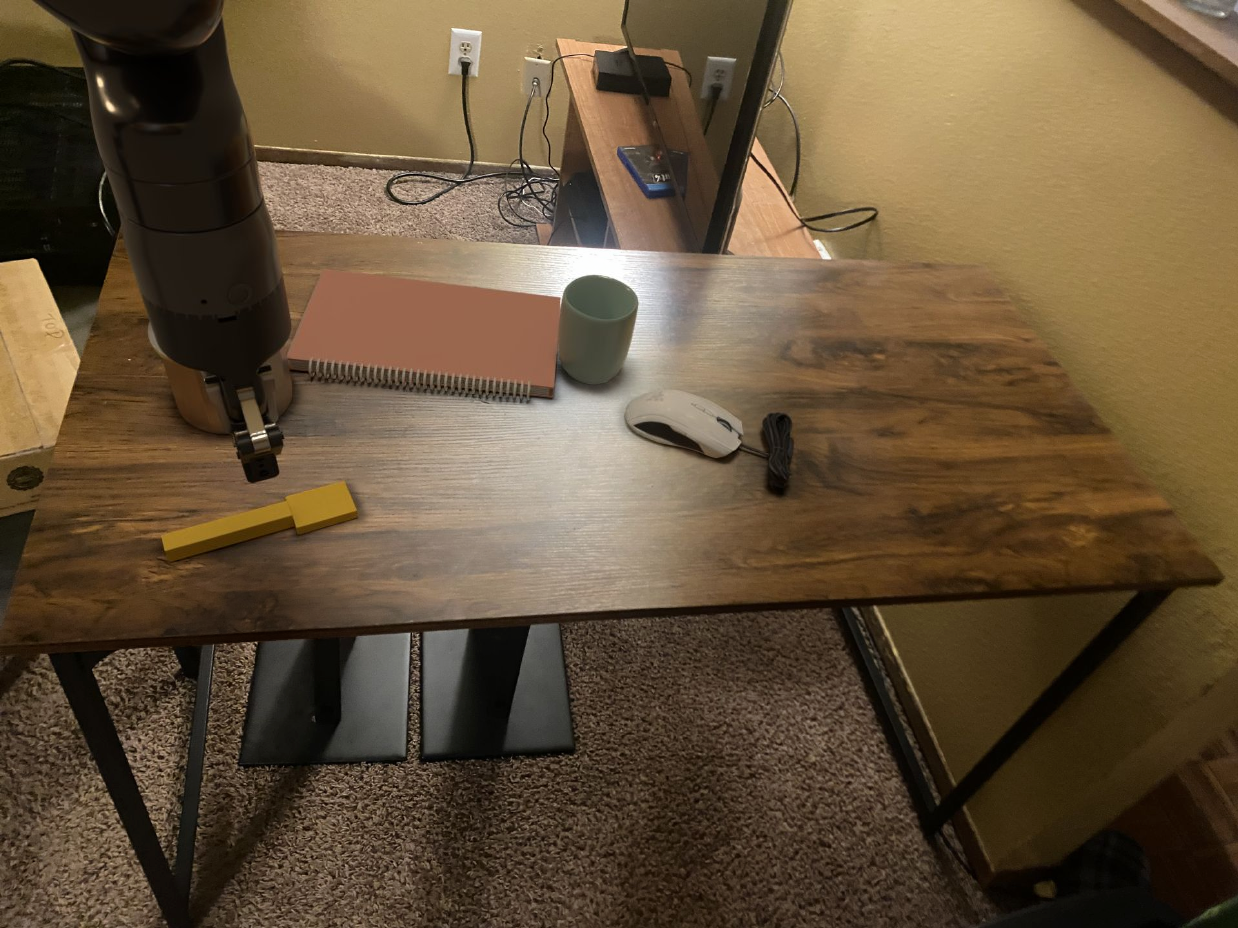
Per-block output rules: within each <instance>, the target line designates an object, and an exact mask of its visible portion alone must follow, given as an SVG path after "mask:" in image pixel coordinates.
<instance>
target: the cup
mask: <svg viewBox="0 0 1238 928" xmlns="http://www.w3.org/2000/svg"><path fill="white" fill-rule="evenodd" d="M638 311H639V298H638V296H637V294H636V293H635V291H634V290H633V288H632V287H630V286H629V285H627V284H626V283H625V282H622V281H621V280H618V279H616V278H613V277H610V276H606V275H603V274H602V275H601V274H587V275H582V276H580V277H577V278H575V279H573V280H571V281H570V282H569V283H568V284H567V285H566V287H565V288H564V290H563V292H562V297H561V300H560V314H559V327H558V340H557V353H558V360H559V363H560V365H561V367H562V368H563V371H564V372H565V373H566V374H567V375H569V376H570V377H571V378H573V379H574V380H576V381H578V382H580V383H583V384H588V385H601V384H604V383H606V382H609V381H610V380H612V379H613V378H614V377H616V376H617V374H618V373H619V372H620V371H621V369H622V367H623V366H624V364H625V362H626V359H627V358H628V354H629V351H630V348H631V345H632V340H633V337H634V331H635V326H636V322H637V317H638Z"/></svg>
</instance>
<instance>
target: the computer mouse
mask: <svg viewBox="0 0 1238 928" xmlns="http://www.w3.org/2000/svg"><path fill="white" fill-rule="evenodd" d="M624 417H625V420H626V422H627V425H629V428H630V429H631V430H633V431H634V433H636V434H638V435H640V436H642V437H643V438H645V439H648V440H651V441H654V442H656V443H659V444H663V445H670V446H675V447H679V448H684V449H688V450H692V451H694V452H697V453H701V454H703V455H706V456H707V457H711V458H715V459H718V458H722V457H726V456H729V454H731V453H732V452H734V451H736V450H737V449H738V448H740V447H742V448H744V449H746V450H749V451H752V452H753V453H754V452H755V453H758V454H760V455H764V456H766V457H768V461H767V470H768V480H769V485H770V488H772V489H773V490H774V489H776V488H780V489H785V488H786V487H787V486H788V482H789V478H790V476H792V475H793V471H792V469H791V468H790V464H791V462H790V461H791V459H792V457H793V455H794V451H795V449H794V446H795V441H794V438H793V433H792V432H791V431H792V429H793V425H794V424H793V420H792V418H791V416H789V414H787V413H785V412H780V411H779V412H769V413H767V415H766V416H765V417H764V418H763V419H762V422H761V423H762V430H763V433H764V436H765V439H766V441H767V443H768V446H769V449H770V451H769V453H768V452H765V451H763V450H761V449H757V448H755V447H752V446H749V445H746V444H743V443H742V440H740V439H739V438H740V437H741V436H742V437H743V436H745V434H744V427H743V421H742V420H740V419H739V418H737V417H736V416H734V415H733V414H731V413H730V412H729V411H727V410H726V409H724V408H723V407H721V406H719V404H716V403H715V402H713V401H711V400H709V399H707V398H705V397H702V396H699V395H696V394H694V393H691V392H688V391H683V390H679V389H674V388H673V389H672V388H665V389H663V388H662V389H656V390H651V391H649V392H646V393H644V394H642V395H640V396H638V397H636V398H633V399H632V400H630V402H629V403H628V404H627V405H626V408H625V410H624Z"/></svg>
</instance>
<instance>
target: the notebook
mask: <svg viewBox="0 0 1238 928" xmlns="http://www.w3.org/2000/svg"><path fill="white" fill-rule="evenodd" d="M561 301H562V297H560V296H553V295H545V294H535V293H528V292H521V291H512V290H503V289H496V288H488V287H478V286H471V285H462V284H452V283H446V282H439V281H430V280H422V279H414V278H413V279H412V278H404V277H398V276H390V275H381V274H371V273H364V272H357V271H356V272H355V271H347V270H339V269H332V268H322V269H321V272H320V274H319V277H318V278H317V281H316V283H315V286H314V289H313V290H312V293H311V295H310V298H309V300H308V303H307V305H306V308H305V310H304V313H303V315H302V317H301V319H300V322H299V325H298V327H297V329H296V332H295V334H294V336H293V338H292V341H291V344H290V345H289V348H288V350H287V352H286V354H287V359H288V365H289V370H292V371H302V372H308V374H309V377H314V376H315V375H316V377H317V378H321V377H322V376H323V377H324V378H325V379H329V377H330V378H331V379H332V380H335V379H336V378H338V380H341V381H342V380H343V379H345V381H350V380H351V377H352V381H353V382H357V381H358V379H359V382H361V383H364V382H365V380H366V382H367V384H368V383H372V380H373V383H374V384H378V383H379V381H380V383H381V385H385V384H386V381H387V384H388V385H389V386H392V385H393V382H394V385H395V386H396V387H399V386H400V382H401V385H402V387H406V386H407V383H408V387H409V388H413V387H414V384H415V388H416V389H420V388H421V384H422V387H423V389H424V390H427V389H428V385H429V389H430V390H434V389H435V386H436V390H437V391H440V390H442V387H443V390H444V392H447V391H448V389H449V388H450V391H451V393H454V392H455V389H456V388H457V392H458V393H462V389H464V393H465V394H468V393H469V390H471V394H472V395H475V394H476V390H478V395H481V396H482V394H483V391H485V396H489V393H490V392H492V393H491V394H492V396H493V397H496V393H498V396H499V398H502V397H503V394H504V393H505V397H506V398H509V397H510V394H512V398H513V399H516V397H517V395H519V399H520V400H522V399H523V396H524V395H525V396H526V400H527V401H529V400H530V396H533V397H534V396H535V397H543V398H552V399H553V398H554V389H555V380H556V379H555V377H556V368H557V367H556V365H557V364H556V363H557V353H558V327H559V317H560V309H561ZM344 377H345V378H344Z"/></svg>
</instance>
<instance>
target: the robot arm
mask: <svg viewBox="0 0 1238 928" xmlns="http://www.w3.org/2000/svg"><path fill="white" fill-rule="evenodd" d="M31 1H32V2H33V3H35V4H36V5H37V6H39V7H40V8H41V9H43V10H44V11H45V12H46V13H48V14H50V15H51V16H52V17H53V18H55V19H56V20H58V21H60V22H61V23H62V24H64V25H65V26H67V27H69V29H70V31H71V34H72V37H73V41H74V43H75V47H76V49H77V52H78V55H79V58H80V61H81V64H82V67H83V71H84V75H85V78H86V83H87V90H88V97H89V99H88V100H89V110H90V117H91V123H92V128H93V133H94V138H95V142H96V145H97V149H98V152H99V156H100V158H101V161H102V164H103V167H104V170H105V173H106V176H107V179H108V181H109V184H110V185H109V186H110V189H111V192H112V194H113V198H114V201H115V204H116V207H117V212H118V215H119V219H120V220H119V221H120V226H121V233H122V239H123V244H124V247H125V253H126V254H127V257H128V260H129V264H130V266H131V269H132V273H133V275H134V278H135V281H136V285H137V288H138V290H139V293H140V296H141V297H140V298H141V299H142V302H143V306H144V308H145V310H146V314H147V317H148V321H150V323H151V326H152V329H153V332H154V335H155V338H156V341H157V344H158V346H159V347H160V349H161V350H162V352H163V353H164V354H165V355H166V356H167V357H168V358H170V359H171V360H173V361H174V362H176V363H178V364H180V365H182V366H184V367H187V368H190V369H194V370H198V371H201V375H202V377H203V380H204V383H205V387H206V390H207V393H208V396H209V399H210V402H211V404H213V405H215V407H216V409H217V412H218V416H219V419H220V422H221V425H222V428H223V431H224V432H225V433H230V434H229V435H231V436H232V440H231V443H232V447H233V448H236V451H235V454H236V457H237V460H240V464H241V467H242V469H243V473H244V476H245V477H246V478H245V479H246V481H247V482H248V483H250V484H254V483H255V484H256V483H259V482H262V481H267V480H271V479H274V478H276V477H278V476H279V475H280V467H279V463H278V459H277V456H279V455H282V451H283V448H284V440H285V436H284V432H283V430H282V431H281V430H280V427H279V426H277V423H276V422H277V421H278V420H279V418H278V413H277V408H276V403H275V398H274V392H275V391H276V388H277V387H276V382H275V377H274V373H273V370H272V367H271V364H270V363H268V364H267V360H268V359H270V358H271V357H272V356H274V355H275V354H276V353H277V352H278V351H280V350H281V348H282V347H283V346H284V345H285V346H286V343H287V342H288V340H289V338H290V335H291V332H292V318H291V312H290V306H289V301H288V295H287V289H286V285H285V278H284V272H283V269H282V263H281V257H280V251H279V246H278V240H277V236H276V231H275V227H274V222H273V220H272V217H271V213H270V211H269V209H268V206H267V203H266V199H265V196H264V191H263V185H262V181H261V174H260V169H259V163H258V159H257V153H256V147H255V143H254V138H253V134H252V130H251V125H250V122H249V118H248V116H247V113H246V109H245V106H244V102H243V100H242V98H241V95H240V92H239V90H238V86H237V84H236V80H235V78H234V74H233V69H232V66H231V60H230V54H229V53H230V52H229V47H228V41H227V40H228V39H227V35H226V28H225V22H224V15H223V14H224V11H225V6H226V0H31Z"/></svg>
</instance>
